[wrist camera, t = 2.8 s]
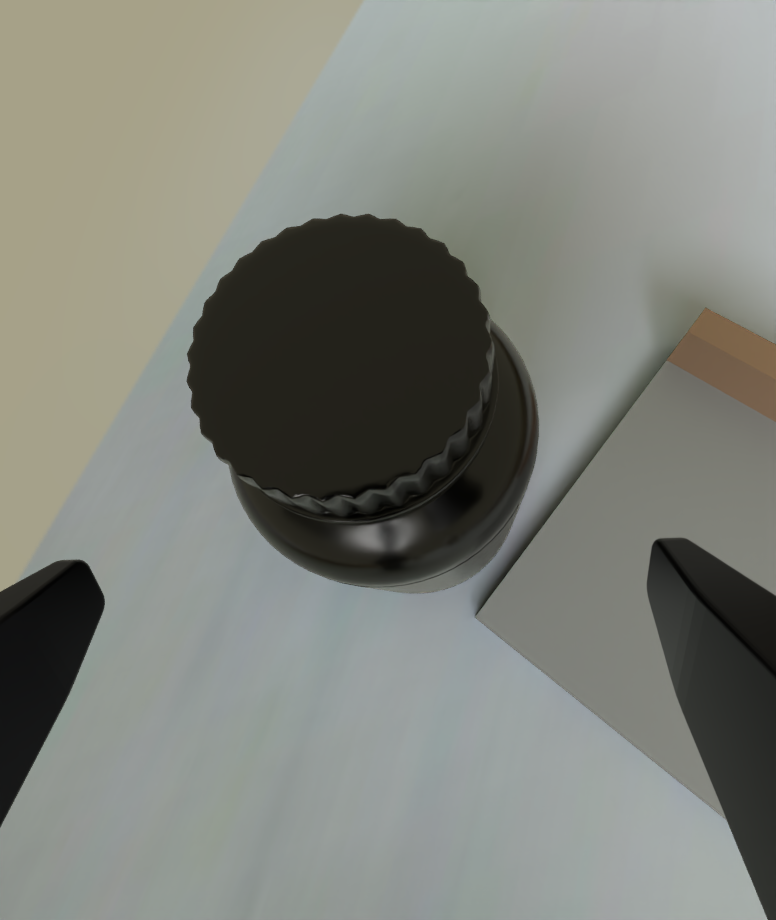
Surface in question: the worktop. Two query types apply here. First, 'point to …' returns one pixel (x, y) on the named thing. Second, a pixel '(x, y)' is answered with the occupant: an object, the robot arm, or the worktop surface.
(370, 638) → the worktop surface
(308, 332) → the supplement bottle
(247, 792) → the worktop surface
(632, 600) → the shelf board
